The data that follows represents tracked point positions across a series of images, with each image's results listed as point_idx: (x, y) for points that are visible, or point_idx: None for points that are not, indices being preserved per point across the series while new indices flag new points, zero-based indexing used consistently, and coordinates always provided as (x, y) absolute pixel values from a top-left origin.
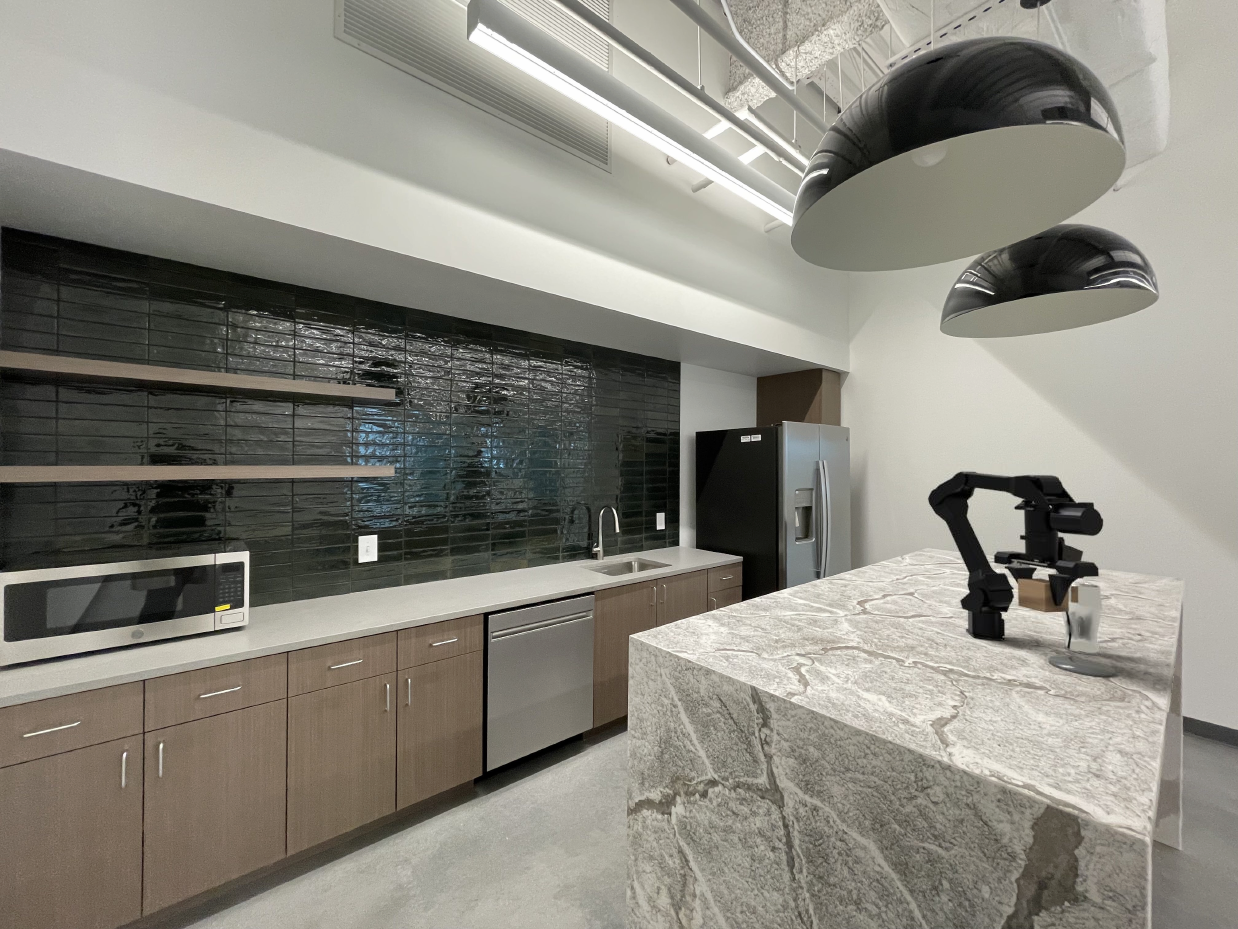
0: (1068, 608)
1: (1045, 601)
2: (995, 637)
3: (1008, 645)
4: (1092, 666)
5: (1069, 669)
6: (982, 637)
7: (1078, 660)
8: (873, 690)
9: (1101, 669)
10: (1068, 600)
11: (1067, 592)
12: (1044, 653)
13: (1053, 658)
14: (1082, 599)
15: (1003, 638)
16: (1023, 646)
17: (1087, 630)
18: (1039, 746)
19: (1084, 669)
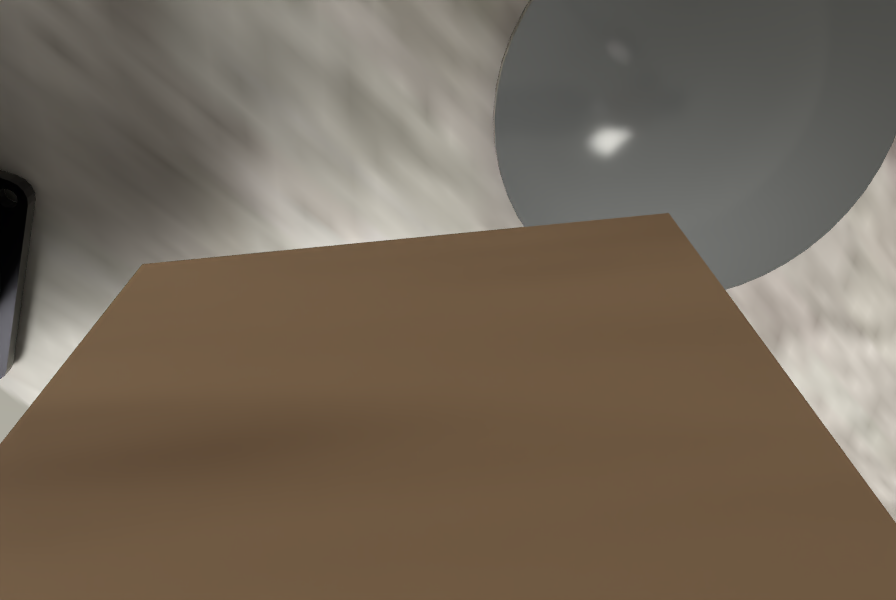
0: (684, 243)
1: None
2: (4, 249)
3: (159, 239)
4: (760, 62)
5: (741, 278)
6: (13, 334)
7: (619, 41)
8: None
9: (830, 53)
10: (745, 322)
11: (850, 495)
12: (355, 104)
13: (548, 213)
14: None
15: (19, 200)
16: (168, 130)
17: None
18: None
19: (790, 195)
